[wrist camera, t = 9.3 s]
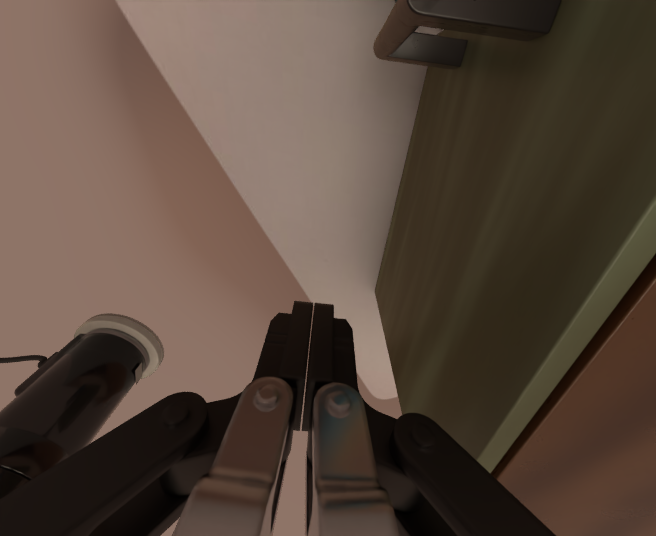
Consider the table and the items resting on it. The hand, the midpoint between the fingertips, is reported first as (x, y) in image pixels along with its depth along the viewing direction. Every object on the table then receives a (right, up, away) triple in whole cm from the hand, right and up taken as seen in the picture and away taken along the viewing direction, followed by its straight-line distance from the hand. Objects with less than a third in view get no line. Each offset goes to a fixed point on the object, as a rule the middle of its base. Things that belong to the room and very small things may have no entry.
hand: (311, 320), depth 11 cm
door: (+6, +11, +19) cm, 23 cm away
